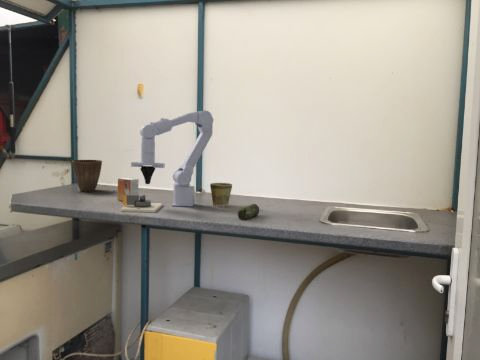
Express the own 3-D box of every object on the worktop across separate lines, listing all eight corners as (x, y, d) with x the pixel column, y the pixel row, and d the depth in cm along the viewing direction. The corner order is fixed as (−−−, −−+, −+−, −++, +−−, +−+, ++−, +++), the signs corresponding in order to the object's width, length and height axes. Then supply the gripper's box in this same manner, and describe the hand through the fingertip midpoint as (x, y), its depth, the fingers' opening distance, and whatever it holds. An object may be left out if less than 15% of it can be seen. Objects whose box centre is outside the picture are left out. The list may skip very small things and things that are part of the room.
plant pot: (91, 193, 207) (91, 162, 205) (66, 191, 210) (65, 160, 208) (107, 189, 221) (107, 160, 219) (83, 188, 225) (83, 159, 223)
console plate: (162, 205, 181) (162, 202, 181) (154, 212, 165) (154, 209, 165) (131, 204, 181) (131, 201, 181) (120, 211, 165) (120, 208, 165)
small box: (117, 200, 189) (117, 178, 188) (125, 199, 194) (125, 177, 193) (130, 202, 186) (130, 179, 184) (138, 201, 190) (138, 178, 189)
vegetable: (247, 221, 155) (247, 208, 154) (235, 219, 157) (235, 207, 157) (262, 215, 167) (262, 203, 167) (250, 214, 170) (251, 202, 169)
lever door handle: (151, 204, 177) (151, 194, 176) (150, 207, 170) (150, 196, 170) (123, 204, 175) (124, 194, 174) (122, 207, 168) (122, 196, 167)
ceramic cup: (228, 208, 180) (229, 186, 178) (207, 206, 181) (207, 184, 180) (234, 203, 192) (235, 182, 191) (214, 202, 194) (215, 181, 193)
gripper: (167, 153, 178) (166, 183, 180) (135, 151, 180) (135, 181, 182) (162, 153, 171) (161, 185, 173) (129, 152, 173) (129, 183, 175)
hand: (147, 183), depth 177 cm, fingers closed
